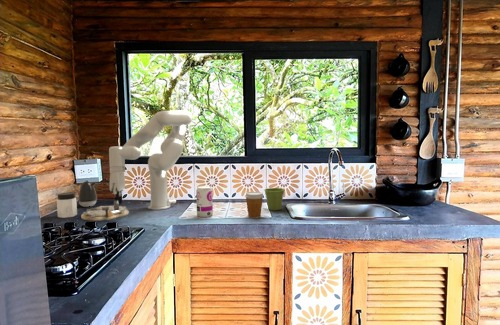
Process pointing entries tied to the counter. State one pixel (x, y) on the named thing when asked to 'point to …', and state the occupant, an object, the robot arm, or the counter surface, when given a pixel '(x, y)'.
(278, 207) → the plant pot
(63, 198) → the jar
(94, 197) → the gray teardrop vessel
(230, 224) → the counter surface
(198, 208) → the supplement can
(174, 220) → the counter surface
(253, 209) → the disposable coffee cup
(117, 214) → the sprocket base
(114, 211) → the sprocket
